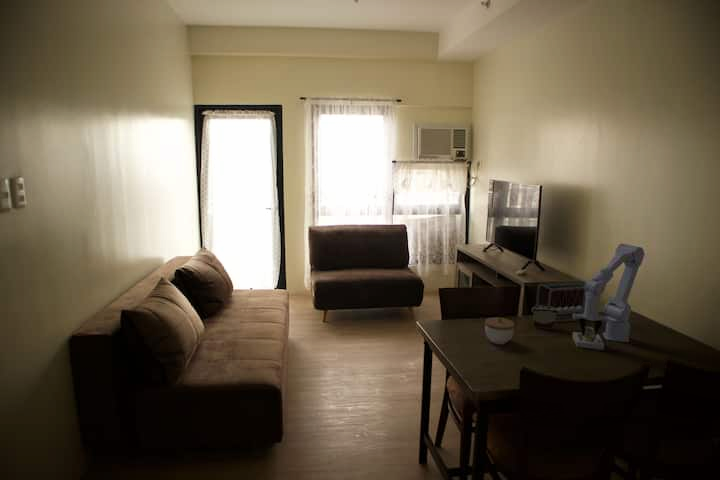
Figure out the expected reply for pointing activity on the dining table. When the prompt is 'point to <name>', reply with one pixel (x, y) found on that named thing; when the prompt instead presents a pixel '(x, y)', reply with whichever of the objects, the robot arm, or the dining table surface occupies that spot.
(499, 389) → the dining table surface
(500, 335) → the lidded bowl
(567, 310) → the newton's cradle
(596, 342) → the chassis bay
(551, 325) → the food container
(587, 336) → the beige cardboard-like cube
